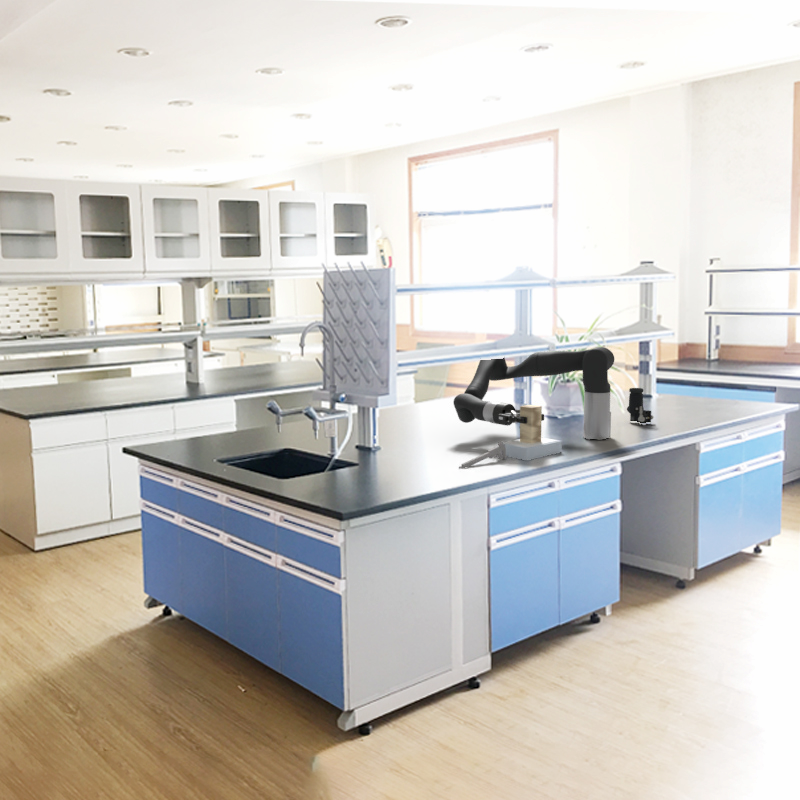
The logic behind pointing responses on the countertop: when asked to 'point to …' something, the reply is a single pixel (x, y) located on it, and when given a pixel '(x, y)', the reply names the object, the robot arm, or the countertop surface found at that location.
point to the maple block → (531, 424)
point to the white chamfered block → (532, 448)
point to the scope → (638, 407)
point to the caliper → (488, 455)
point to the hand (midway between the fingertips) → (535, 419)
